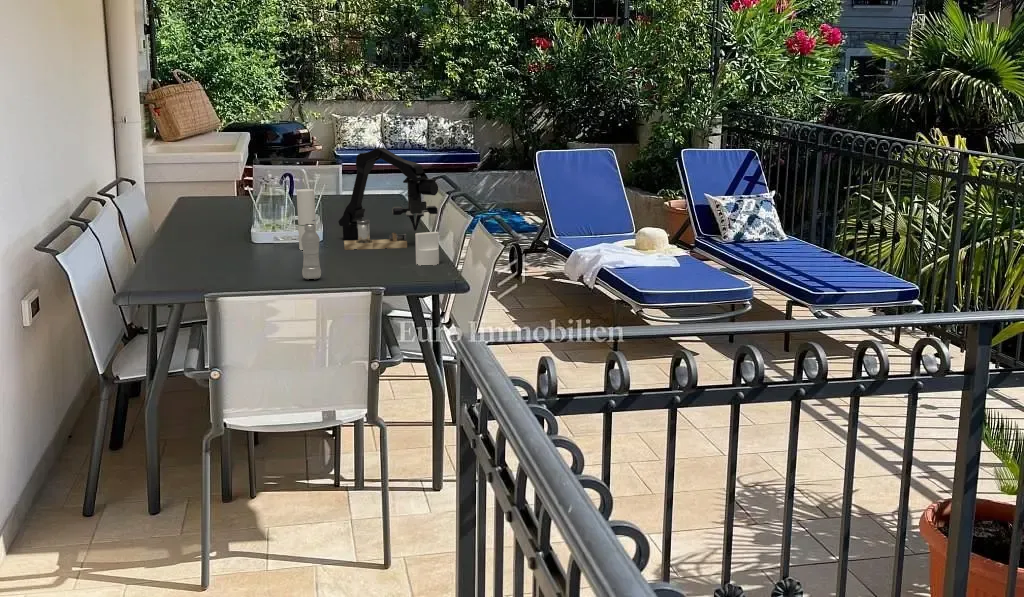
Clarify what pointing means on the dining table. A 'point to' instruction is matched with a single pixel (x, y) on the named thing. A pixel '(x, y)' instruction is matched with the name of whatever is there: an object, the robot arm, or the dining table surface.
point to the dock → (376, 244)
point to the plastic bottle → (310, 253)
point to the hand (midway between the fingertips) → (415, 230)
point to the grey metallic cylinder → (363, 231)
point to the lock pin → (398, 237)
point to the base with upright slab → (427, 248)
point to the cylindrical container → (305, 210)
